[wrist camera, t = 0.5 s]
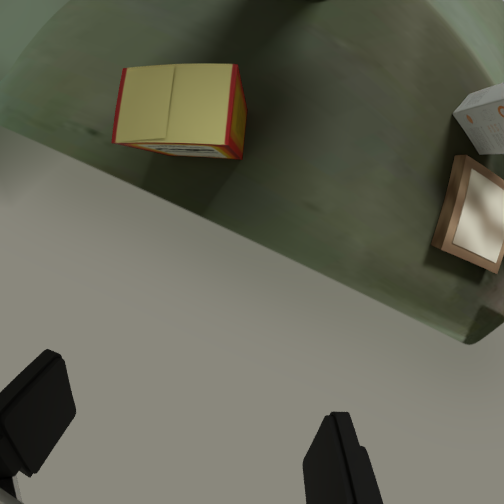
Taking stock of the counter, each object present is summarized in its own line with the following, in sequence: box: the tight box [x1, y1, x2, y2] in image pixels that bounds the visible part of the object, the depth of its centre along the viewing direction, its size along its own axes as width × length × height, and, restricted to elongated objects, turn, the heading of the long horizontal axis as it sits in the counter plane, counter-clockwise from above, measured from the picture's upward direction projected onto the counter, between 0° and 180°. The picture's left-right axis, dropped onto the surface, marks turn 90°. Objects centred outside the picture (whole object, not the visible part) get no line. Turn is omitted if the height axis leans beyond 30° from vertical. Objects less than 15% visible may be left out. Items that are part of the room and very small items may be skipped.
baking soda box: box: [112, 64, 247, 160], centre depth 27 cm, size 10×6×16 cm
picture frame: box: [431, 155, 504, 274], centre depth 34 cm, size 14×14×3 cm
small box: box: [453, 83, 504, 155], centre depth 26 cm, size 8×6×13 cm
